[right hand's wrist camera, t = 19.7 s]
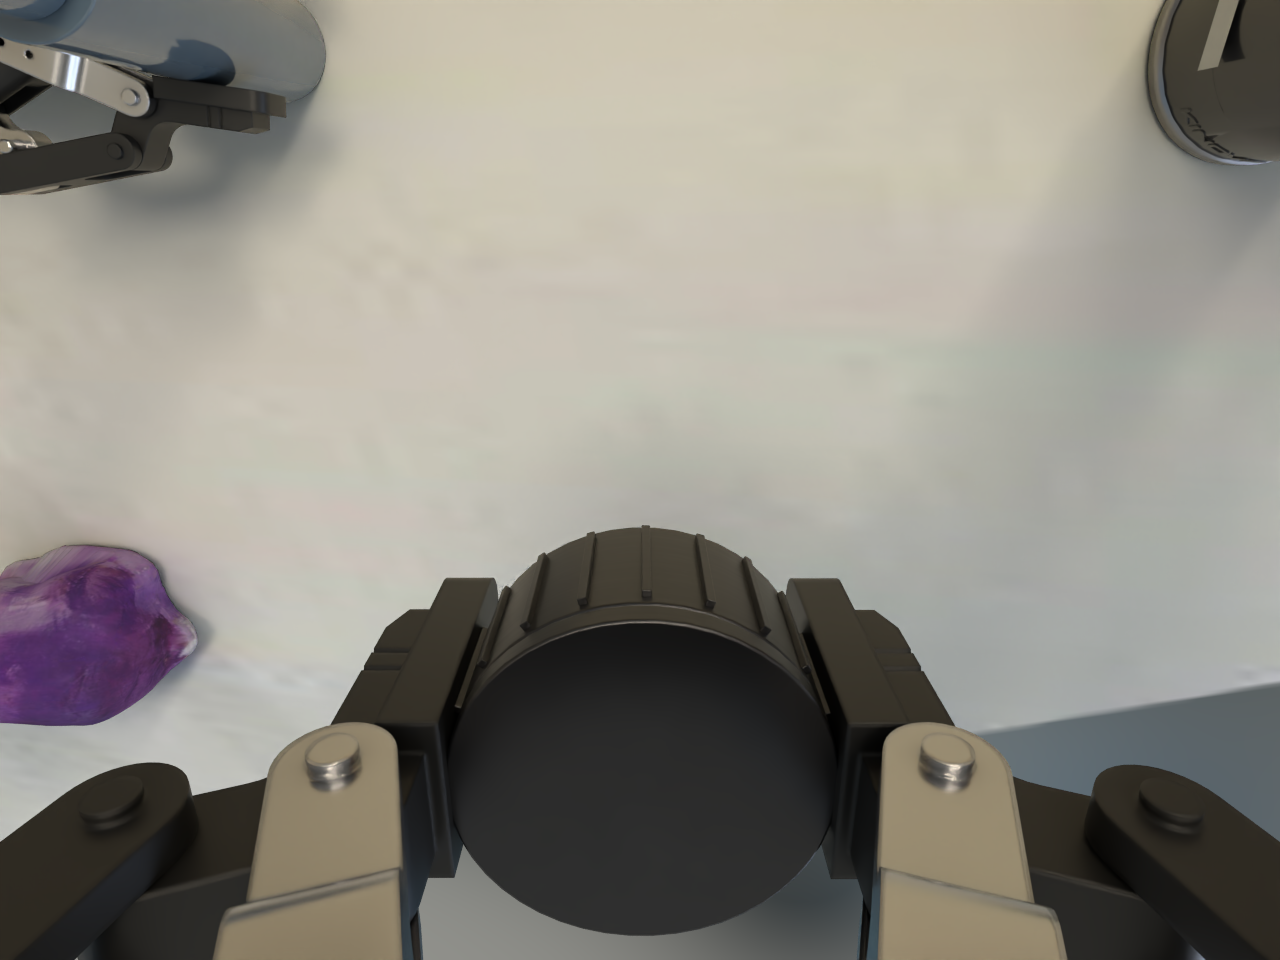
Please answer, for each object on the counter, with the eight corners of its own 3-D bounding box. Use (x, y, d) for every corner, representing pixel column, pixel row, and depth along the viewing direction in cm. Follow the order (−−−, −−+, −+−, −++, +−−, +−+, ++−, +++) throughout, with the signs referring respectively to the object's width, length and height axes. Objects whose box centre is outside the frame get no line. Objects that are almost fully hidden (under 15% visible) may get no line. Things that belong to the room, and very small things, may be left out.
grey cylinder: (309, -18, 32) (-15, -218, 16) (338, 94, 34) (66, 12, 18) (211, 0, 32) (-205, -182, 16) (244, 109, 34) (-109, 43, 18)
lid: (573, 837, 12) (557, 985, 10) (417, 604, 11) (360, 714, 9) (851, 732, 12) (902, 865, 9) (725, 466, 10) (749, 547, 8)
